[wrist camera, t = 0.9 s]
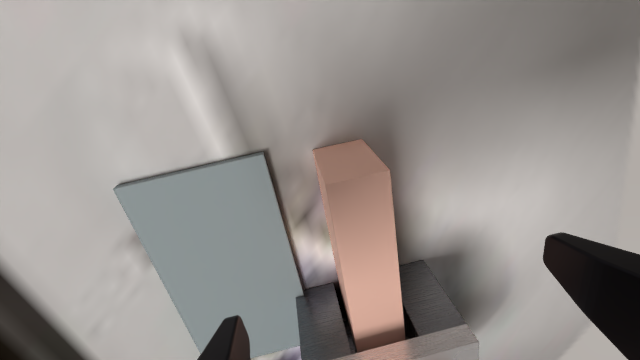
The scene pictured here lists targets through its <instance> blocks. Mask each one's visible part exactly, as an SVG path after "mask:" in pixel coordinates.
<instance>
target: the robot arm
mask: <svg viewBox="0 0 640 360" xmlns="http://www.w3.org/2000/svg"><path fill="white" fill-rule="evenodd" d="M543 261H544V263H545V265H546V267H547V268H548V269H549V271H550V272H551V273H552V274H553V276H554V277H555V278H556V279H557V281H558V282H559V283H560V284H561V286H562V287H563V288H564V289H565V291H566V292H567V293H568V294H569V296H570V297H571V298H572V299H573V301H574V302H575V303H576V304H577V306H578V307H579V308H580V309H581V310H582V311H583V313H584V314H585V315H586V316H587V317H588V318H589V319H590V320H591V321H592V322H593V323H594V324H595V325H596V327H598V328H599V330H600V331H601V332H602V333H603V334H604V335H605V336H606V337H607V338H608V339H609V340H610V341H611V342H612V343H613V344H614V345H615V346H616V347H617V348H618V350H619V351H620V352H621V353H622V354H623V355H624V356H625V357H626V358H627V359H628V360H640V255H639V254H636V253H632V252H628V251H625V250H622V249H618V248H615V247H611V246H608V245H604V244H601V243H598V242H594V241H591V240H587V239H584V238H580V237H577V236H573V235H570V234H567V233H556V234H552V235H549V236H547V238H546V240H545V246H544V254H543ZM197 360H250V340H249V336H248V333H247V330H246V328H245V326H244V323H243V321H242V318H241V317H240V316H239V315H235V316H231V317H227V318H225V319H224V320H223V321H222V323H221V324H220V326H219V327H218V329H217V330H216V332H215V333H214V335H213V336H212V338H211V339H210V341H209V343H208V344H207V346H206V347H205V349H204V350H203V352H202V353H201V355H200V356H199V358H198V359H197Z"/></svg>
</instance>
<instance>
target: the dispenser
mask: <svg viewBox="0 0 640 360" xmlns="http://www.w3.org/2000/svg"><path fill="white" fill-rule="evenodd" d="M399 274H400V285H401V296H402V307H403V318H404V329H405V340H404V341H400V342H397V343H393V344H389V345H385V346H381V347H378V348H374V349H370V350H366V351H363V352H359V353H357V351H356V348H355V344H354V340H353V337H352V333H351V329H350V326H349V322H348V318H347V315H346V311H343V312H341V311H340V308H339V304H338V300H337V296H336V292H335V288H334V284H333V283H331V284H327V285H323V286H319V287H315V288H311V289H307V290H303V293H304V295H303V296H299V297H295V298H296V308H297V318H298V328H299V338H300V349H301V359H302V360H479V341H478V340H477V338H476V337H475V335H474V334H473V332H472V331H471V329H470V328H469V326H468V325H467V323H466V322H465V321H464V319H463V318H462V316H461V315H460V313H459V312H458V310H457V309H456V307H455V306H454V304H453V303H452V302H451V300H450V299H449V297H448V296H447V294H446V293H445V291H444V290H443V288H442V287H441V286H440V284H439V283H438V281H437V280H436V278H435V277H434V275H433V274H432V272H431V271H430V269H429V268H428V267H427V265H426V264H425V262H424V261H423V260H421V261H417V262H413V263H409V264H405V265H401V266H399Z"/></svg>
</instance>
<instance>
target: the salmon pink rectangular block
mask: <svg viewBox="0 0 640 360" xmlns="http://www.w3.org/2000/svg"><path fill="white" fill-rule="evenodd" d="M313 154H314V159H315V164H316V169H317V174H318V179H319V185H320V190H321V195H322V200H323V205H324V210H325V215H326V220H327V225H328V230H329V235H330V240H331V245H332V250H333V255H334V260H335V265H336V270H337V275H338V280H339V285H340V290H341V295H342V300H343V304H344V307H345V311H346V315H347V318H348V322H349V326H350V329H351V333H352V337H353V340H354V344H355V348H356V351H357V353H359V352H363V351H366V350H370V349H374V348H378V347H381V346H385V345H389V344H393V343H397V342H400V341H404V340H405V329H404V318H403V307H402V296H401V285H400V274H399V263H398V252H397V241H396V230H395V219H394V208H393V197H392V186H391V175H390V170H389V169H388V167H387V166H386V165H385V164H384V163H383V162H382V161H381V160H380V158H379V157H378V156H377V155H376V154H375V153H374V152H373V151H372V150H371V148H370V147H369V146H368V145H367V144H366V143H365V142H364V141H363V140H362V139H359V140H355V141H350V142H346V143H341V144H336V145H332V146H327V147H323V148H318V149H313Z"/></svg>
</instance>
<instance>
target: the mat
mask: <svg viewBox="0 0 640 360" xmlns="http://www.w3.org/2000/svg"><path fill="white" fill-rule="evenodd" d="M113 190H114V192H115V194H116V196H117V198H118V200H119V201H120V203H121V205H122V207H123V209H124V211H125V213H126V215H127V217H128V218H129V220H130V222H131V224H132V226H133V228H134V230H135V232H136V233H137V235H138V237H139V239H140V241H141V243H142V245H143V247H144V248H145V250H146V252H147V254H148V256H149V258H150V260H151V262H152V263H153V265H154V267H155V269H156V271H157V273H158V275H159V277H160V279H161V280H162V282H163V284H164V286H165V288H166V290H167V292H168V294H169V295H170V297H171V299H172V301H173V303H174V305H175V307H176V309H177V310H178V312H179V314H180V316H181V318H182V320H183V322H184V324H185V326H186V327H187V329H188V331H189V333H190V335H191V337H192V339H193V341H194V342H195V344H196V346H197V348H198V350H199V352H200V354H201V353H202V352H203V350H204V349H205V347H206V346H207V344H208V343H209V341H210V339H211V338H212V336H213V335H214V333H215V332H216V330H217V329H218V327H219V326H220V324H221V323H222V321H223V320H224V319H225V318H227V317H231V316H235V315H239V316H240V317H241V318H242V321H243V323H244V326H245V328H246V330H247V333H248V336H249V340H250V358H254V357H258V356H262V355H266V354H269V353H273V352H277V351H281V350H285V349H288V348H292V347H296V346H300V338H299V328H298V318H297V308H296V298H295V297H299V296H303V295H304V293H303V288H302V285H301V281H300V278H299V274H298V271H297V267H296V264H295V260H294V257H293V253H292V250H291V246H290V243H289V239H288V236H287V232H286V229H285V225H284V222H283V218H282V215H281V211H280V208H279V204H278V201H277V197H276V194H275V190H274V187H273V183H272V180H271V176H270V173H269V169H268V166H267V162H266V159H265V155H264V152H260V153H256V154H251V155H247V156H243V157H238V158H234V159H230V160H225V161H221V162H217V163H212V164H208V165H204V166H199V167H195V168H191V169H186V170H182V171H178V172H173V173H169V174H165V175H160V176H156V177H152V178H147V179H143V180H139V181H134V182H130V183H126V184H121V185H117V186H116V187H115V188H114V189H113Z"/></svg>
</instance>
